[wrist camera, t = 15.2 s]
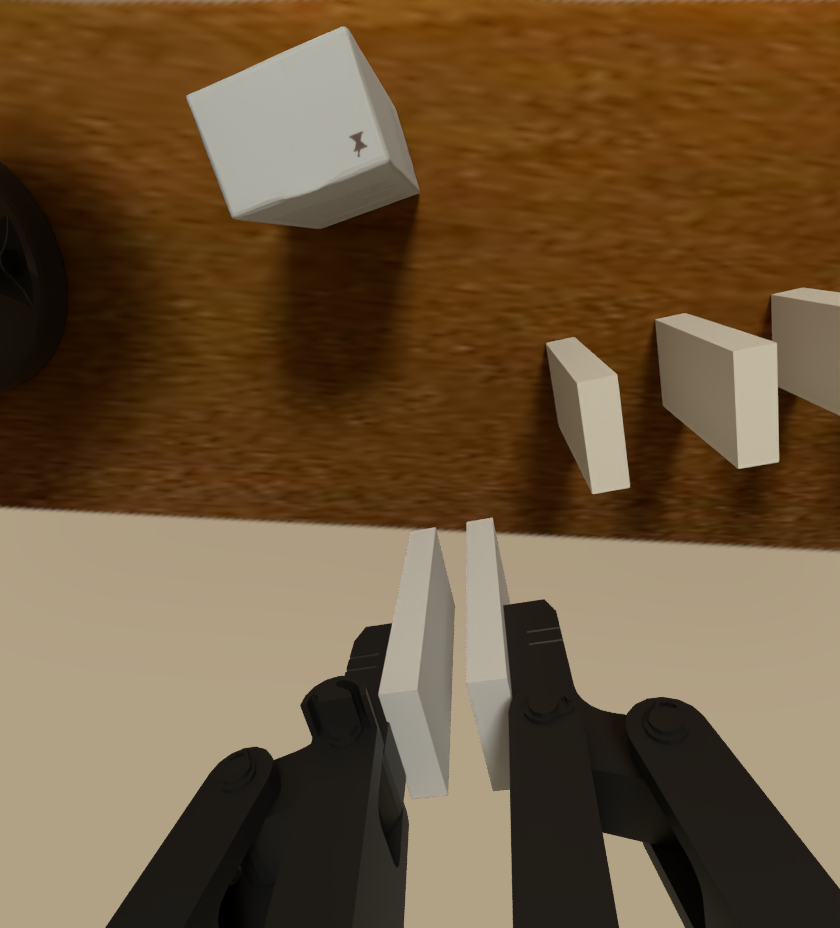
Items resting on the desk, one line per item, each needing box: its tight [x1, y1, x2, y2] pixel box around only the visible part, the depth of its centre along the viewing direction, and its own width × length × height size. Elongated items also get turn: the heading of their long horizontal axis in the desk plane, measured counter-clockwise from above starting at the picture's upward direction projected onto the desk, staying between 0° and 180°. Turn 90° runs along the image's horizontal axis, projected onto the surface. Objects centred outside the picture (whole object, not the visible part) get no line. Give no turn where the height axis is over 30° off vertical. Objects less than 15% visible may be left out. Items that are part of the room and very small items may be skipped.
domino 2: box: [655, 313, 779, 469], centre depth 28 cm, size 2×5×10 cm, turn 13°
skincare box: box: [187, 27, 420, 229], centre depth 25 cm, size 6×4×12 cm
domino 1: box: [546, 337, 630, 494], centre depth 29 cm, size 2×5×10 cm, turn 13°
